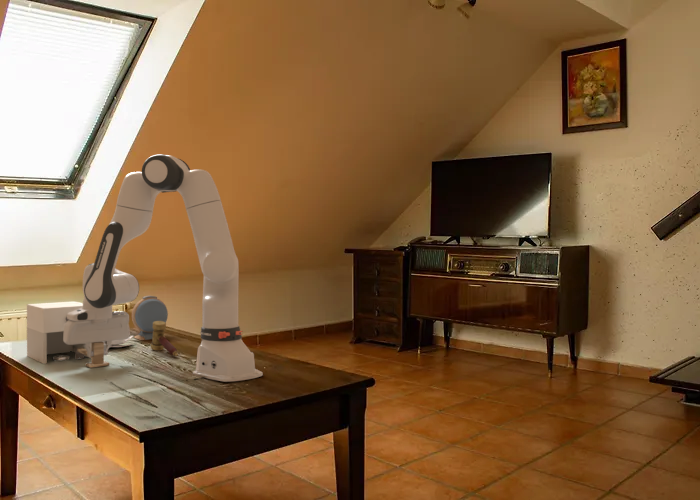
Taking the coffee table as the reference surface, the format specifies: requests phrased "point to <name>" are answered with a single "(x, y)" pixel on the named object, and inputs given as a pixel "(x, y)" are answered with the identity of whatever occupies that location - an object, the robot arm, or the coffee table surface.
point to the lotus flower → (119, 342)
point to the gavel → (161, 339)
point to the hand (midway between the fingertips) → (97, 355)
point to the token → (61, 357)
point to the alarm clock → (148, 316)
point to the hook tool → (98, 355)
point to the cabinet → (49, 329)
